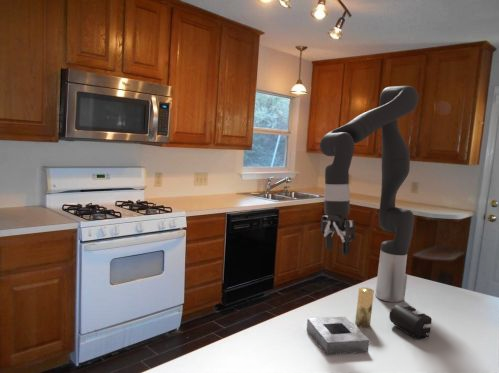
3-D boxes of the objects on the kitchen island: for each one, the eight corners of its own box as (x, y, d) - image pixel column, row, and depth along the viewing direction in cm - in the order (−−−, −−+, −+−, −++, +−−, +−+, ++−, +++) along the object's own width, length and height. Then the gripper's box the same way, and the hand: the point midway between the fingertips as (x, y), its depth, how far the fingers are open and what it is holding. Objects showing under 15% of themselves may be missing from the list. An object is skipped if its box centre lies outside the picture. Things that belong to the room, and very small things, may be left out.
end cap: (387, 326, 125) (390, 305, 124) (405, 323, 128) (407, 302, 127) (412, 341, 116) (415, 319, 115) (430, 338, 119) (433, 316, 118)
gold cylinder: (365, 320, 128) (369, 287, 126) (372, 327, 123) (376, 292, 122) (352, 321, 127) (356, 287, 125) (359, 327, 122) (363, 293, 121)
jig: (344, 327, 122) (345, 316, 121) (368, 352, 108) (369, 339, 108) (306, 329, 119) (307, 318, 119) (326, 355, 105) (327, 342, 105)
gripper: (362, 200, 118) (362, 255, 119) (333, 196, 131) (333, 246, 132) (340, 201, 115) (341, 257, 116) (313, 197, 128) (314, 248, 129)
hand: (337, 251), depth 124 cm, fingers open, 8 cm apart
